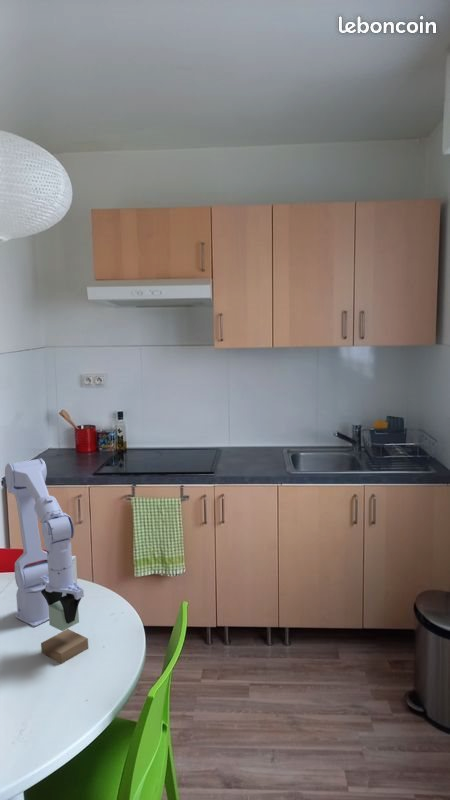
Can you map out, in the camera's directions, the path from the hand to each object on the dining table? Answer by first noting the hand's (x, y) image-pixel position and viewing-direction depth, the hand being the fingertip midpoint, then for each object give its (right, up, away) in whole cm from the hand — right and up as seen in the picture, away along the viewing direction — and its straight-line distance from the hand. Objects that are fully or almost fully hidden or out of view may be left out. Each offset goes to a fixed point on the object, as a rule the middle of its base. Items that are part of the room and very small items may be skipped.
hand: (63, 618), depth 139 cm
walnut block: (0, -9, +1) cm, 9 cm away
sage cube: (0, -1, 0) cm, 2 cm away
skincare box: (-7, -5, +29) cm, 30 cm away
